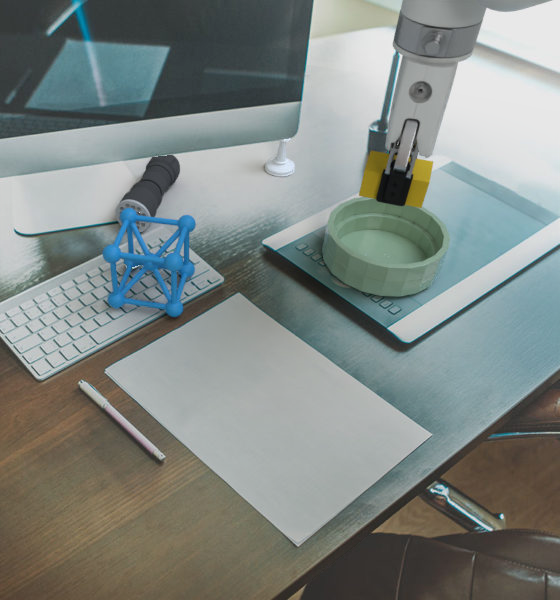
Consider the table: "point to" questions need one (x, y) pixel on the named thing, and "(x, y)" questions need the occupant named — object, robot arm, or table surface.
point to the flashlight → (150, 189)
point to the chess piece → (280, 162)
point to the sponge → (379, 162)
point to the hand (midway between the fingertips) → (393, 188)
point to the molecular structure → (151, 261)
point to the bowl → (384, 246)
